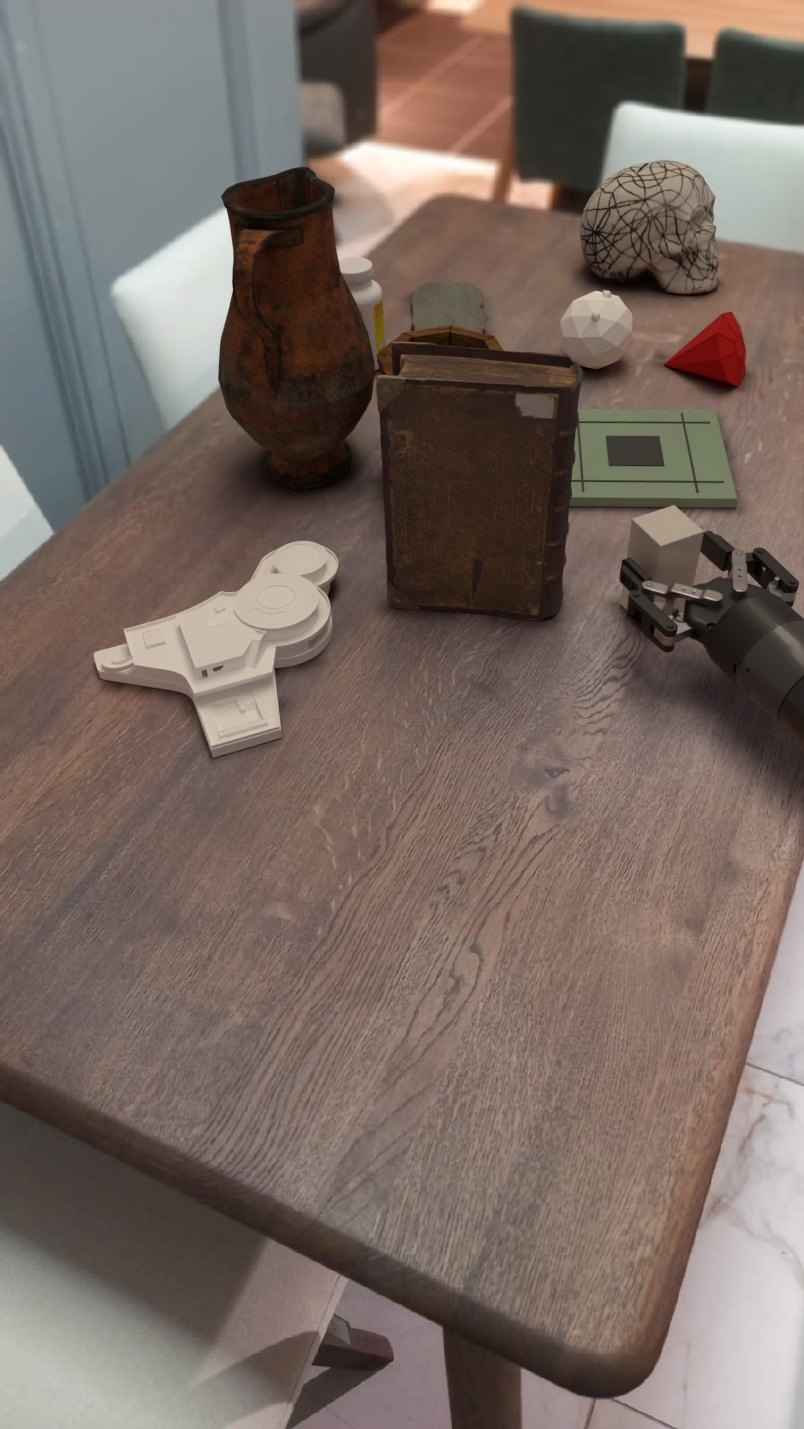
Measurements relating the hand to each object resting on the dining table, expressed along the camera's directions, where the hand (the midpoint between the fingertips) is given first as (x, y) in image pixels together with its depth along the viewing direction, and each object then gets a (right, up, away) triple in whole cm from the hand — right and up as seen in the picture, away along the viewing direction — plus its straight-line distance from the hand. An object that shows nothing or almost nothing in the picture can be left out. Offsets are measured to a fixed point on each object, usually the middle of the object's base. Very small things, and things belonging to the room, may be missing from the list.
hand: (663, 552), depth 100 cm
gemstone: (+13, +27, +36) cm, 47 cm away
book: (-17, -4, +7) cm, 19 cm away
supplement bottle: (-29, +30, +41) cm, 59 cm away
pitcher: (-35, +12, +24) cm, 44 cm away
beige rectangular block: (0, -5, +5) cm, 7 cm away
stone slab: (-18, +36, +46) cm, 62 cm away
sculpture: (+10, +47, +55) cm, 73 cm away
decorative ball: (+2, +29, +39) cm, 49 cm away
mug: (-16, +10, +21) cm, 29 cm away
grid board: (+2, +14, +23) cm, 27 cm away
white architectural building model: (-39, -10, +3) cm, 40 cm away
